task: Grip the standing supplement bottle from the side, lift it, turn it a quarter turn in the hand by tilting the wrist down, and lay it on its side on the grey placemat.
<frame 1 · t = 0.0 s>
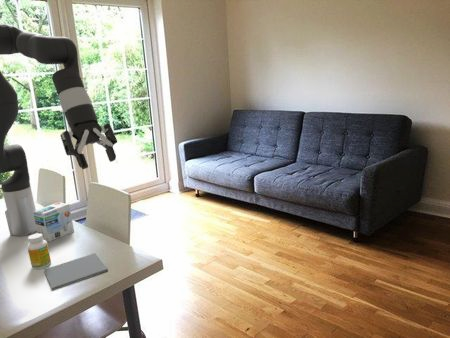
hand: (99, 164, 100), 31 cm above the table, tool tilted 20°, fingers open, 8 cm apart
placemat: (75, 270, 109), on the table
light bulb box: (57, 235, 137), on the table
supplement bottle: (41, 265, 114), on the table
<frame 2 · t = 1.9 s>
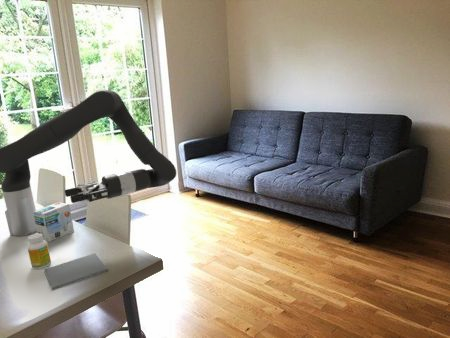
hand: (68, 196, 115), 19 cm above the table, tool horizontal, fingers open, 8 cm apart
nothing on the table moved.
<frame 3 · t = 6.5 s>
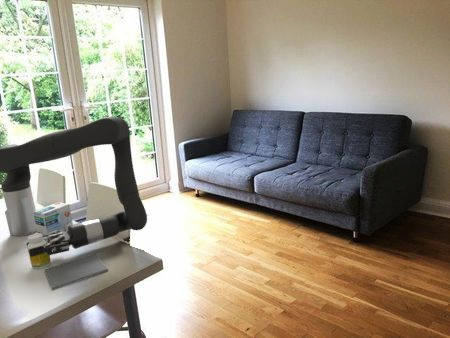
hand: (28, 249, 111), 6 cm above the table, tool horizontal, fingers closed on supplement bottle, 5 cm apart
supplement bottle: (41, 265, 114), on the table, touching gripper
everything else where it was.
when the fingers open (2 cm above the table, at t = 15.0 s): supplement bottle stays where it is, resting on placemat.
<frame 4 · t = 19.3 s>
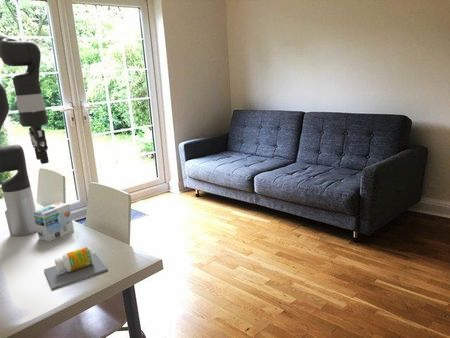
hand: (42, 161, 118), 30 cm above the table, tool pointing down, fingers open, 8 cm apart
supplement bottle: (91, 254, 111), point 3 cm above the table, touching placemat
everything else where it was.
at the end: supplement bottle tilted 90°; supplement bottle touching placemat; supplement bottle 5.2 cm from the placemat (horizontally) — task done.
